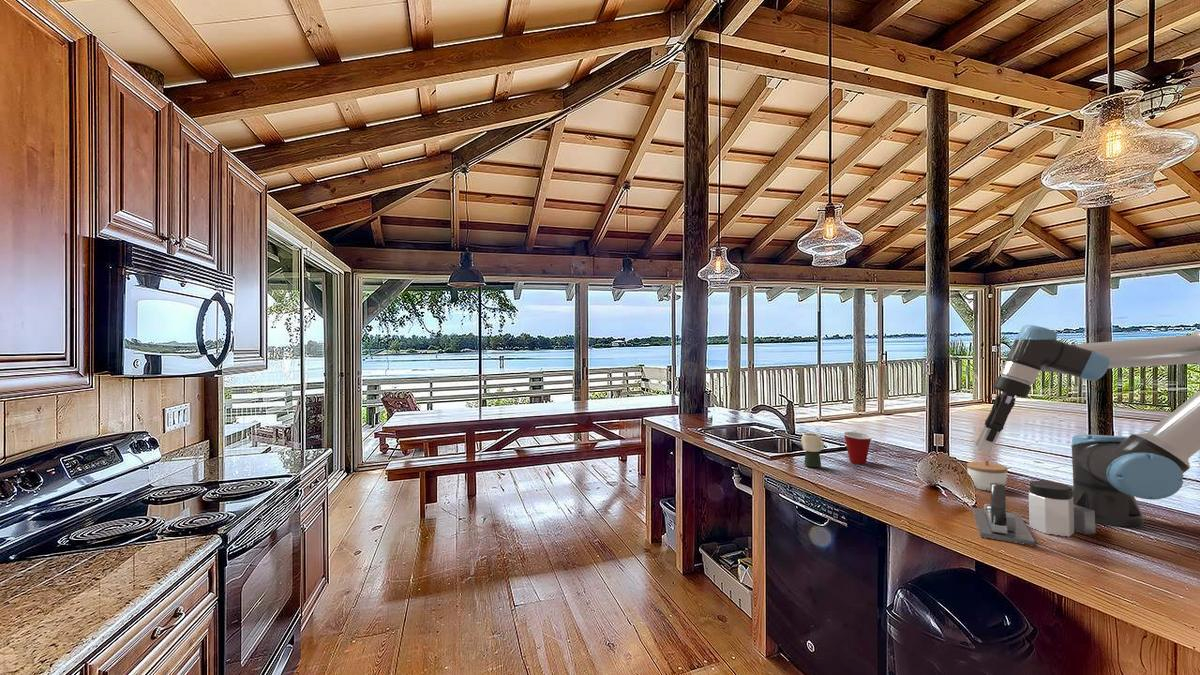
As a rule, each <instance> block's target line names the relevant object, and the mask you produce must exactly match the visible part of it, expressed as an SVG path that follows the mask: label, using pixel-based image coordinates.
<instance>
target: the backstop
mask: <svg viewBox="0 0 1200 675" xmlns="http://www.w3.org/2000/svg"><path fill="white" fill-rule="evenodd" d="M1074 530H1075V531H1074V532H1076V531H1078V532H1077V533H1079V532H1081V533H1080V534H1082V533H1083V534H1082V535H1085V534H1088V535H1095V534H1096V522H1095V511H1094V510H1091V509H1088V508H1084V507H1081V506H1078V505H1074Z"/></svg>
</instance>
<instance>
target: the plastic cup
mask: <svg viewBox="0 0 1200 675" xmlns="http://www.w3.org/2000/svg"><path fill="white" fill-rule="evenodd" d="M842 434H843V436H844V440H845V443H846V444H845V446H846V449H847V450H846V451H847V454H848V458H849V462H850V463H851V464H852V465H853V464H854V465H860V464H862V465H866V464H867V460H868V457H869V456H868V455H869V449H870V444H871V441H872V439H873V435H871V434H867V433H863V432H857V431H843V433H842Z"/></svg>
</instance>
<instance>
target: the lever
mask: <svg viewBox="0 0 1200 675" xmlns="http://www.w3.org/2000/svg"><path fill="white" fill-rule="evenodd" d="M989 492H990V504H988V503H984V505H983V506H984V507H983V509H984V511H985V514H986V516H987V519H988V522H989V524H990V527H991V530H992V532H998V533H1005V534H1007V530H1009V531H1016V522H1015V516H1014V514H1013V513H1014V512H1007V497H1006V496H1007V494H1006V493H1007V492H1006V484H1005V485H1003V484H999V483H990V491H989Z"/></svg>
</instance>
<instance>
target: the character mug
mask: <svg viewBox="0 0 1200 675" xmlns="http://www.w3.org/2000/svg"><path fill="white" fill-rule="evenodd" d="M822 438H823V436H822V434H820V433H814V432H805V433H802V436H801V437H800V442H801V443H800V444H801V445H802V450H804V451H805V454H804V455H805V456H804V463H803V464H804V466H806V467H809V468H810V467H811V468H812V467H814V468H817V467H821V466H822V463H821V462H822V460H821V456H820V451H822V450H824V449H825V446H824V445H825V443H824V441H823V440H822Z"/></svg>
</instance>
